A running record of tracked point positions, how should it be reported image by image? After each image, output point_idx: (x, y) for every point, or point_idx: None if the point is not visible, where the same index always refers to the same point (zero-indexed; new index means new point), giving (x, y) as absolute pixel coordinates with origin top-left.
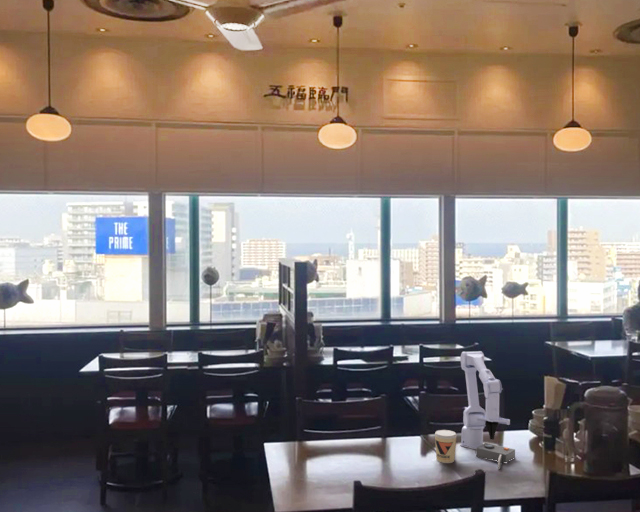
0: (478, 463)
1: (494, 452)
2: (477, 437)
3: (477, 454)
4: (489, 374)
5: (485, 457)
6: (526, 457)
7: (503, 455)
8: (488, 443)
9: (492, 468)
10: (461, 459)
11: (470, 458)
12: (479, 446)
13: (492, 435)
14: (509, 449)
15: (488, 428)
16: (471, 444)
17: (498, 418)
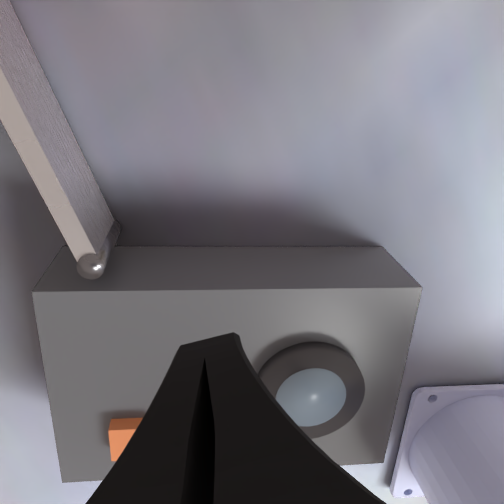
0: (292, 72)
1: (190, 286)
2: (488, 490)
3: (379, 256)
4: None
5: (289, 251)
6: (31, 486)
7: (71, 283)
8: (354, 462)
9: (92, 15)
10: (487, 70)
11: (414, 162)
12: (403, 339)
13: (181, 387)
14: (105, 452)
15: (300, 491)
16: (497, 412)
17: None
